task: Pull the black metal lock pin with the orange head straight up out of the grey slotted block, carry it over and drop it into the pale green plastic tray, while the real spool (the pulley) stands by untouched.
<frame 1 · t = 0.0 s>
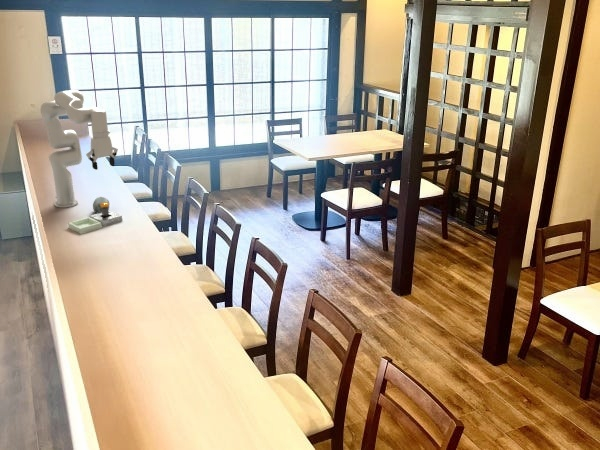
hand: (103, 167, 289), 31 cm above the counter, fingers open, 9 cm apart
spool: (102, 212, 317), on the counter
grey slotted block: (106, 220, 304), on the counter
lock pin: (105, 212, 302), in the grey slotted block
tray: (85, 227, 294), on the counter
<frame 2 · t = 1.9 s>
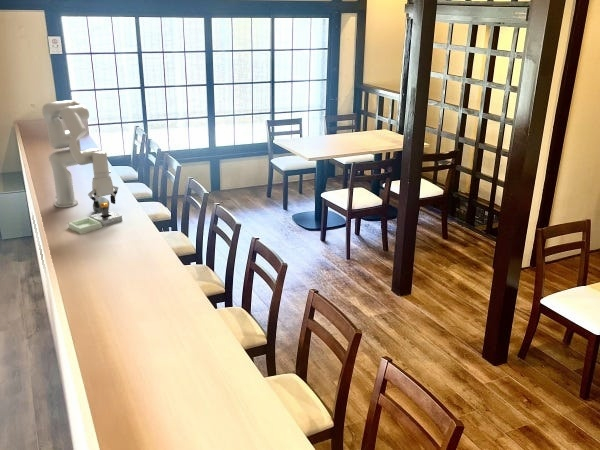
hand: (105, 205, 301), 9 cm above the counter, fingers open, 9 cm apart
nothing on the counter moved.
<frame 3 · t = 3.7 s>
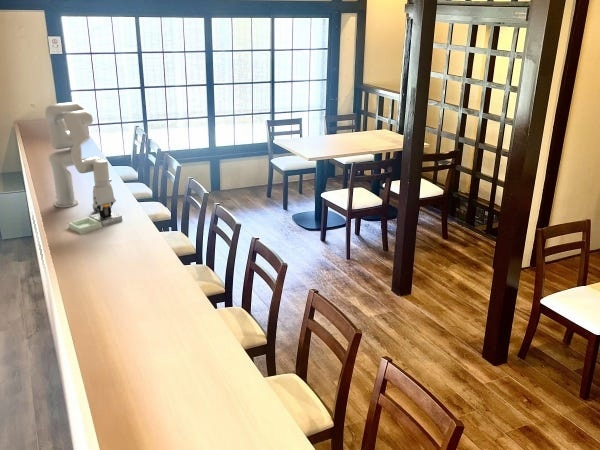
hand: (105, 215, 303), 3 cm above the counter, fingers closed on lock pin, 3 cm apart
lock pin: (105, 212, 302), in the grey slotted block, touching gripper
everything else where it was.
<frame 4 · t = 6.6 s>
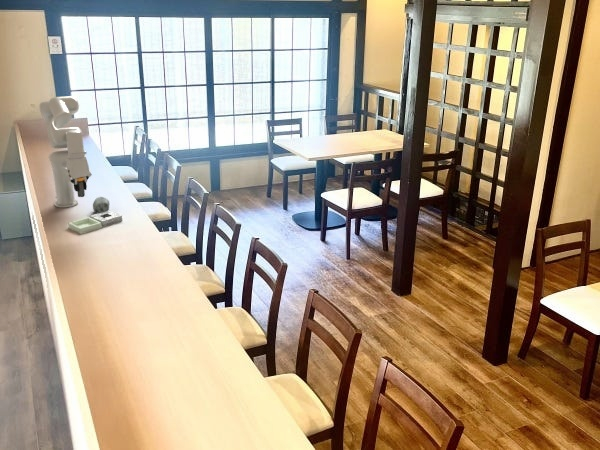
hand: (80, 189, 287), 21 cm above the counter, fingers closed on lock pin, 3 cm apart
lock pin: (80, 186, 286), point 22 cm above the counter, touching gripper
everything else where it was.
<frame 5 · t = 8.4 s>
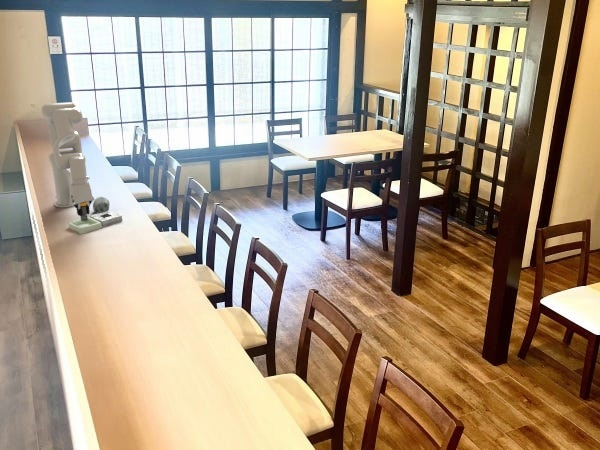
hand: (83, 214, 291), 8 cm above the counter, fingers closed on lock pin, 3 cm apart
lock pin: (83, 211, 291), point 9 cm above the counter, touching gripper
everything else where it was.
when the fingers open (5 cm above the counter, at t = 9.6 s): lock pin drops 1 cm, resting on tray.
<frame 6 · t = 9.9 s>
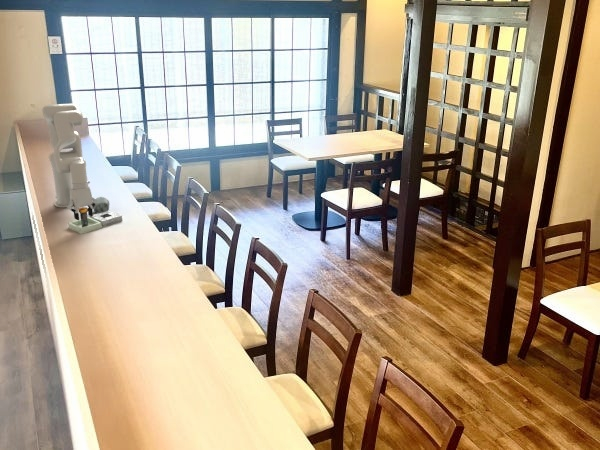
hand: (84, 217, 292), 6 cm above the counter, fingers open, 7 cm apart
lock pin: (84, 217, 292), in the tray, point 6 cm above the counter
everything else where it was.
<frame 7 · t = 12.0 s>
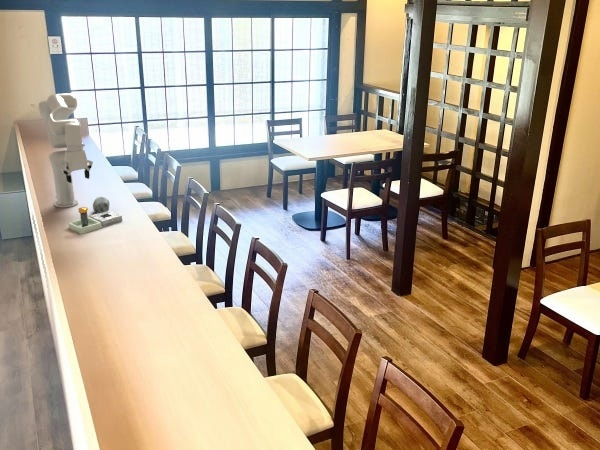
hand: (78, 180, 287), 25 cm above the counter, fingers open, 9 cm apart
nothing on the counter moved.
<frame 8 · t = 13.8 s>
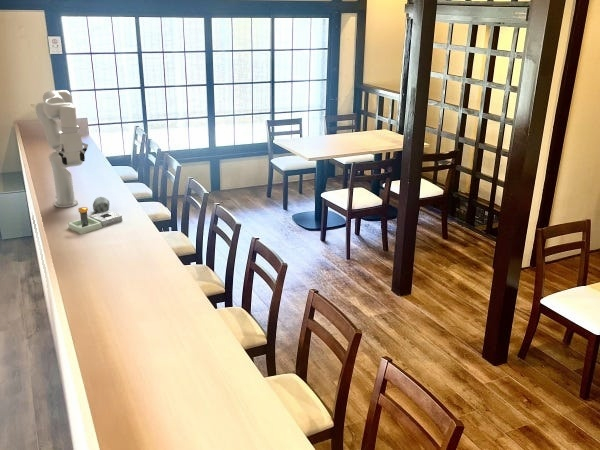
hand: (73, 162, 292), 32 cm above the counter, fingers open, 9 cm apart
nothing on the counter moved.
at the end: lock pin inside the target area on the tray (0.1 cm from its centre), point 5.6 cm above the tray's base; the gripper is holding nothing; lock pin touching tray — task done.
